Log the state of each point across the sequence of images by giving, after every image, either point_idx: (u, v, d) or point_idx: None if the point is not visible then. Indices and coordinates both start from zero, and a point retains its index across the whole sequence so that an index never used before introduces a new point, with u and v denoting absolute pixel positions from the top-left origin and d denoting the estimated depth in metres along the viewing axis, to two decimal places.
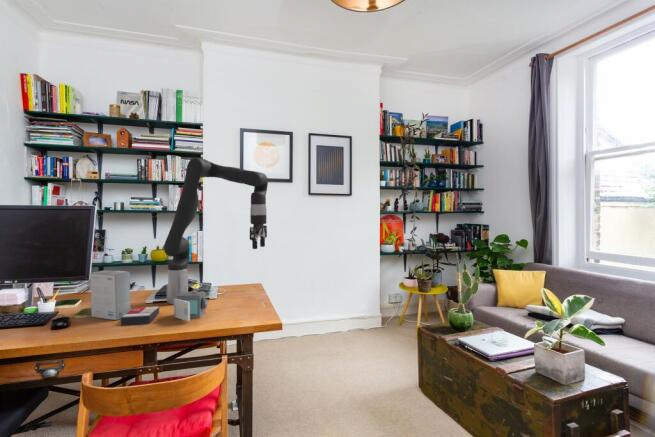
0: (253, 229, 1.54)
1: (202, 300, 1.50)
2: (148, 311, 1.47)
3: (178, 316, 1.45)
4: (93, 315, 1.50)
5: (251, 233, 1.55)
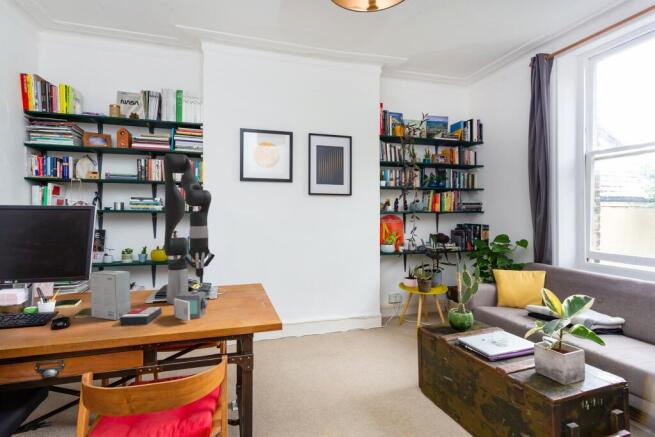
0: None
1: (202, 300, 1.50)
2: (148, 312, 1.46)
3: (178, 316, 1.45)
4: (93, 315, 1.50)
5: None
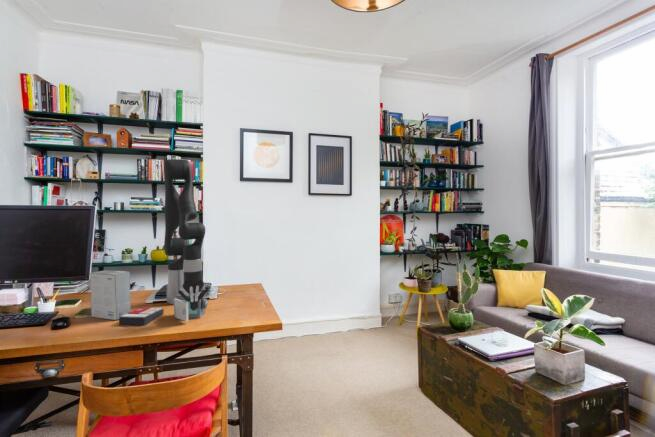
0: None
1: (202, 300, 1.50)
2: (147, 312, 1.45)
3: (178, 316, 1.45)
4: (93, 315, 1.50)
5: None
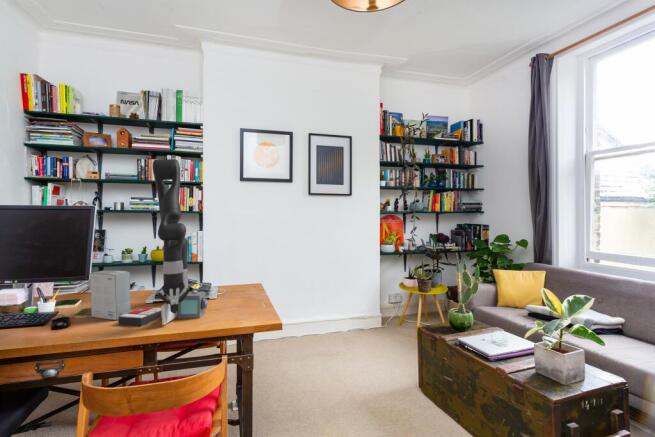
0: None
1: (202, 300, 1.50)
2: (146, 313, 1.44)
3: None
4: (93, 315, 1.50)
5: None
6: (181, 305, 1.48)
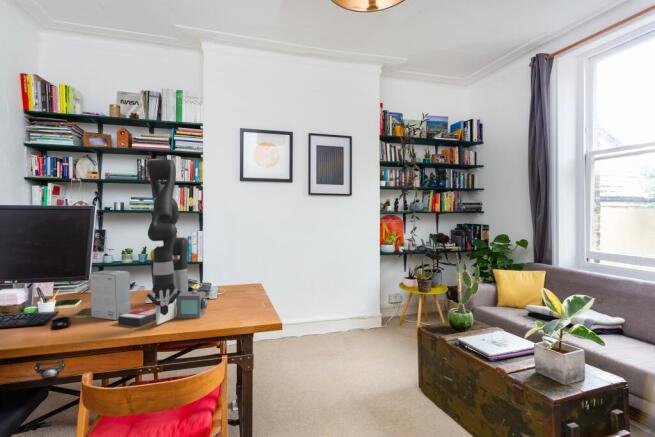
0: None
1: (202, 300, 1.50)
2: (146, 313, 1.44)
3: None
4: (93, 315, 1.50)
5: None
6: (181, 305, 1.48)
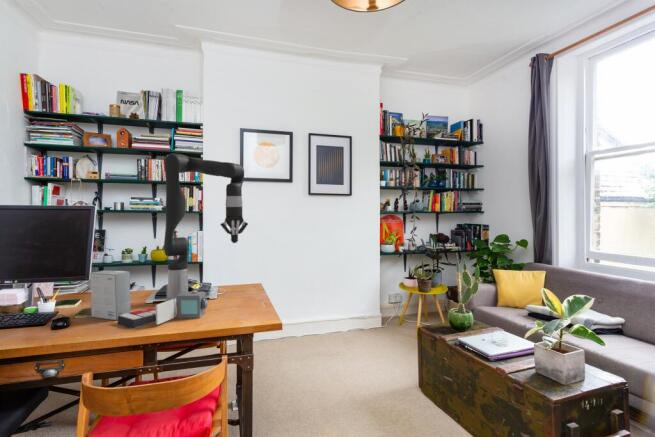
0: None
1: (202, 300, 1.50)
2: (143, 314, 1.42)
3: None
4: (93, 315, 1.50)
5: None
6: (181, 305, 1.48)
